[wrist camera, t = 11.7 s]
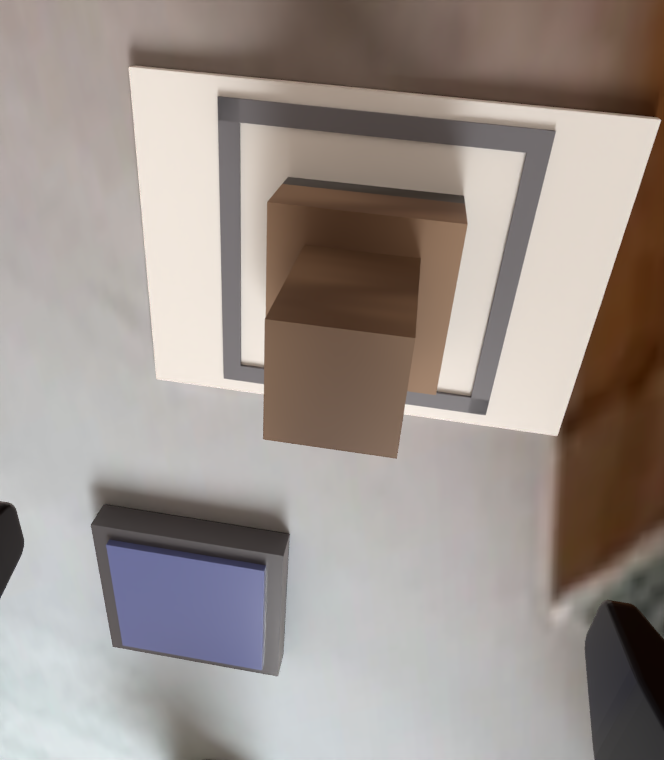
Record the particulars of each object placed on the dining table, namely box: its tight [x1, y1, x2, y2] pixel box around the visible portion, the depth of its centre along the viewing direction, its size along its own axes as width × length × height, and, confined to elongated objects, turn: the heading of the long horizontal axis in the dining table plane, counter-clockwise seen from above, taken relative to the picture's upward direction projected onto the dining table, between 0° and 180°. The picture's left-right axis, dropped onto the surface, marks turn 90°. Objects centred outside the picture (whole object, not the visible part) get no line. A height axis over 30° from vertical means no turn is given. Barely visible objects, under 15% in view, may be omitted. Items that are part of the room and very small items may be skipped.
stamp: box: [263, 177, 468, 459], centre depth 16 cm, size 5×5×7 cm
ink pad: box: [91, 505, 290, 676], centre depth 28 cm, size 8×8×2 cm
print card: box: [129, 66, 661, 436], centre depth 19 cm, size 14×10×1 cm
